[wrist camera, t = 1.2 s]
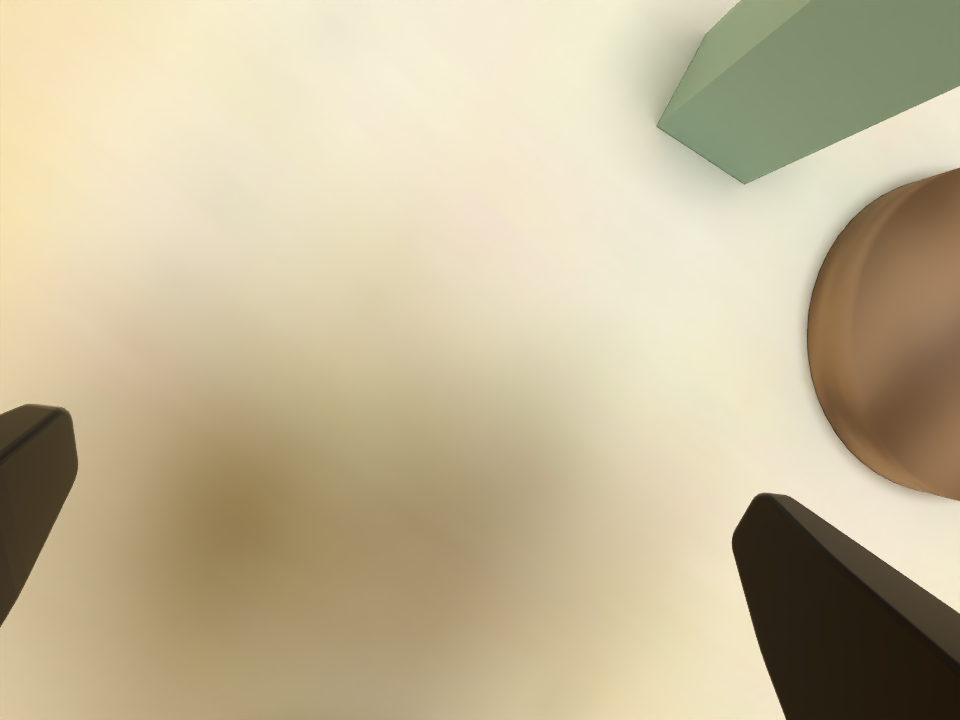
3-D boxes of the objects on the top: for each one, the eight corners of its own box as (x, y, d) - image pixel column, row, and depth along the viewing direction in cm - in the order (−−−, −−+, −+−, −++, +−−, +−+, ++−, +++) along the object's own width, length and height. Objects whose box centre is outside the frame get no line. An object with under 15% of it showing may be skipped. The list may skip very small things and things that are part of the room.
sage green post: (792, 93, 26) (1174, -146, 13) (744, 184, 25) (1090, 26, 13) (706, 33, 25) (1025, -277, 13) (656, 126, 25) (933, -99, 12)
